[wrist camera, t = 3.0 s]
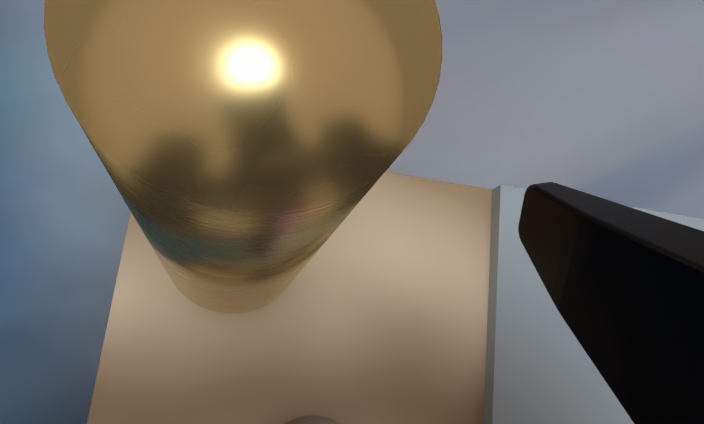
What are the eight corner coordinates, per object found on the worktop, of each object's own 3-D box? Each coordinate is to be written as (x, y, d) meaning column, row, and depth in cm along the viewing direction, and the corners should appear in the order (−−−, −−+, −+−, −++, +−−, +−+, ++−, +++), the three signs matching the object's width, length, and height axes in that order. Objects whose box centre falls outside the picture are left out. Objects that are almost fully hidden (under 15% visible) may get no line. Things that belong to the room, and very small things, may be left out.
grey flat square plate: (719, 469, 19) (734, 472, 18) (482, 448, 18) (491, 451, 17) (704, 225, 21) (717, 221, 21) (492, 189, 20) (500, 184, 19)
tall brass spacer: (292, 321, 17) (429, 238, 6) (150, 304, 17) (-3, 174, 5) (308, 190, 18) (451, -94, 7) (175, 169, 18) (93, -184, 6)
